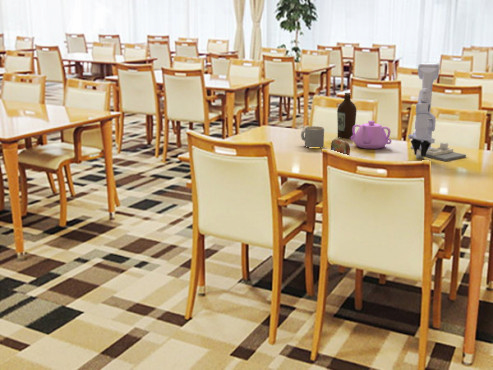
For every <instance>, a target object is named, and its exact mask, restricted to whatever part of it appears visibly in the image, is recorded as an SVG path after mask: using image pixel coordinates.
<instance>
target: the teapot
mask: <svg viewBox="0 0 493 370" xmlns="http://www.w3.org/2000/svg"><path fill="white" fill-rule="evenodd" d="M375 122H376V121H375V120H368V123H362V124H358V123H357V124H355V125H354V126H353V128H352V132H353V136H351V138H350V140H351V141H352V142H354V144H355V145H356V146H357V147H358V148H361V149H371V150H372V149H373V150H377V149H382V148H384V147H385V146H386V145H390V144H392V139H390V136H391V129H390V128H389V127H388V126H383V125H381V124H380V123H375ZM356 127H358V129H357V130H356ZM385 130H386V131H387V133H386V131H385ZM353 137H354V138H353Z"/></svg>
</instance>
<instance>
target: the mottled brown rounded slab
mask: <svg viewBox="0 0 493 370" xmlns="http://www.w3.org/2000/svg"><path fill="white" fill-rule="evenodd" d="M331 150H334V151H337V152H340V153H343V154H347V155H349V156H350V154H351V146H350V144H349V143H348V142H347V141H345V140H342V139H339V138H338V139H337V138H336V139H335V138H334V139H333V140H332V141H331V143H330V151H331Z"/></svg>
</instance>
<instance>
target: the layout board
mask: <svg viewBox="0 0 493 370" xmlns="http://www.w3.org/2000/svg"><path fill="white" fill-rule="evenodd" d="M433 148H434V149H428V150H427V153H426V156H424V158H430V159H433V158H434V160H437V159H439V161H442V160H443V161H442V162H449V161H454V160H459V159H463V158H466V157H467V154H464V153H459V152H455V151H454V148H451V147H449V143H448V142H440V145H439V147H433ZM448 160H449V161H448Z"/></svg>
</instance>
